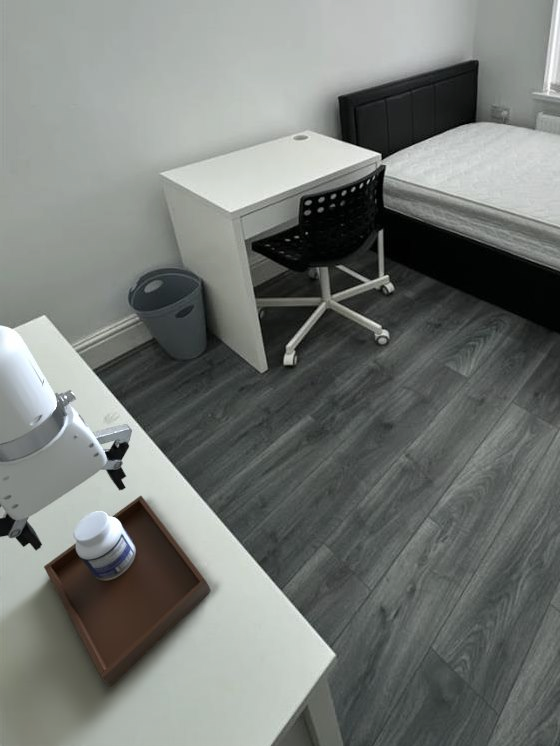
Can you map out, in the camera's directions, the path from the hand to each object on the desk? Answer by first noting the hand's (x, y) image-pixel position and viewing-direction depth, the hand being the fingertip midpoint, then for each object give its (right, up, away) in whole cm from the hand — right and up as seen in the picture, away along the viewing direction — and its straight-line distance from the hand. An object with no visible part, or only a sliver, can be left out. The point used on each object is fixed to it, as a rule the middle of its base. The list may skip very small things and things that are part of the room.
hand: (79, 510), depth 62 cm
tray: (+3, -13, +5) cm, 15 cm away
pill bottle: (0, -11, +7) cm, 13 cm away
